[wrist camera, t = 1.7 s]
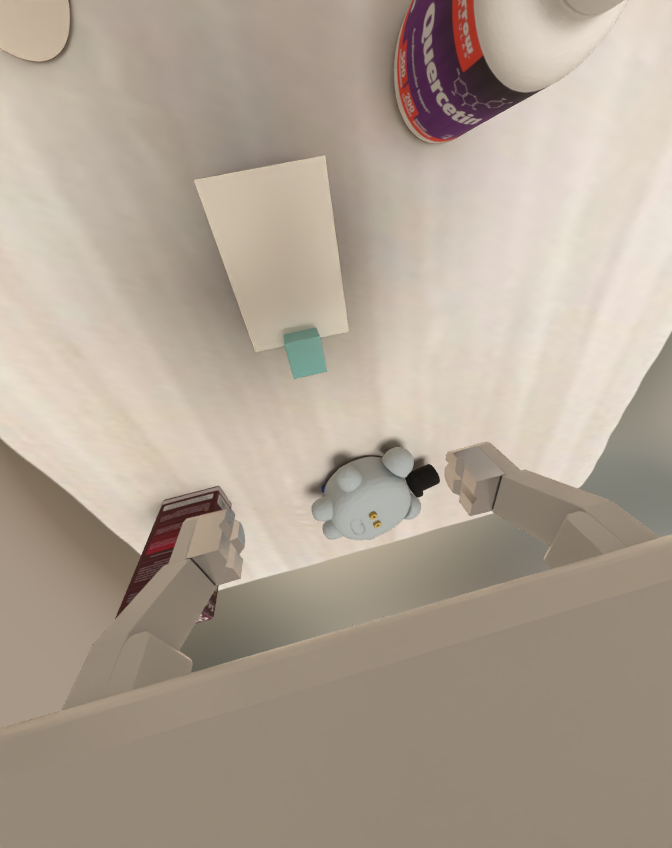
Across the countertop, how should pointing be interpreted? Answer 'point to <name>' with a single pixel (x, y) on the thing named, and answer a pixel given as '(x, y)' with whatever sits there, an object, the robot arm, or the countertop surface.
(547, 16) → the pill bottle
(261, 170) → the lid
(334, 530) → the figurine
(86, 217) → the countertop surface
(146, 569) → the supplement box
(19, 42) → the can
